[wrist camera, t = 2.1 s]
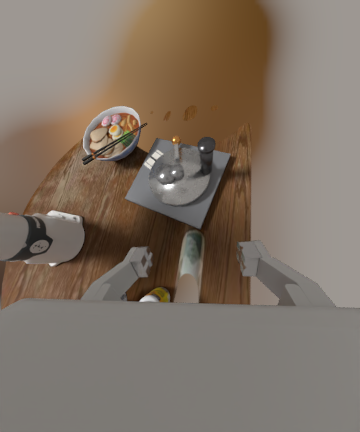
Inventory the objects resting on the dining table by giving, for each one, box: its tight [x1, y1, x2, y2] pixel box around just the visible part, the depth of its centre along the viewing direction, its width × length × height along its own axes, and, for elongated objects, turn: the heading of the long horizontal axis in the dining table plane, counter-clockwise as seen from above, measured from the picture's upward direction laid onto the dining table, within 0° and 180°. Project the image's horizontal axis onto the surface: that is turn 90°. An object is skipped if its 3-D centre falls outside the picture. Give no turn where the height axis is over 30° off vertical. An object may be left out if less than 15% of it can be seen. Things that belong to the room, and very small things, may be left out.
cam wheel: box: [149, 136, 215, 207], centre depth 36 cm, size 20×23×12 cm
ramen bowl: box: [82, 106, 147, 165], centre depth 48 cm, size 25×23×8 cm
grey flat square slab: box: [125, 138, 230, 229], centre depth 42 cm, size 27×25×3 cm
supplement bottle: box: [140, 287, 170, 302], centre depth 31 cm, size 6×6×10 cm
